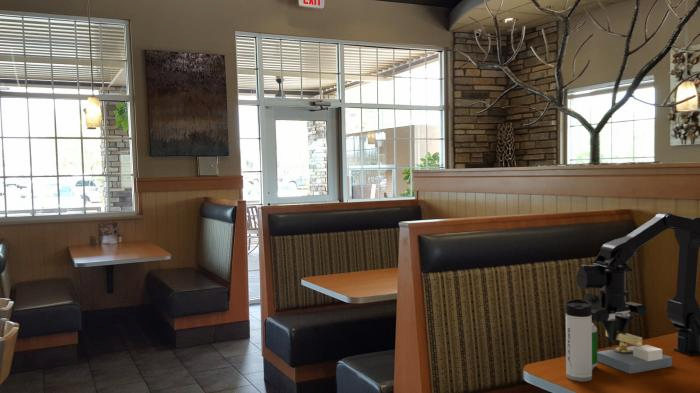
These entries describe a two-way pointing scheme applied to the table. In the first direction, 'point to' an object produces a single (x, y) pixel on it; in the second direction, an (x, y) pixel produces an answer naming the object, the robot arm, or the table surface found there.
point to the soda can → (594, 346)
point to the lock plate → (631, 361)
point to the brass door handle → (626, 341)
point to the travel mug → (578, 340)
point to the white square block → (647, 352)
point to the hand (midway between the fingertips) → (614, 341)
